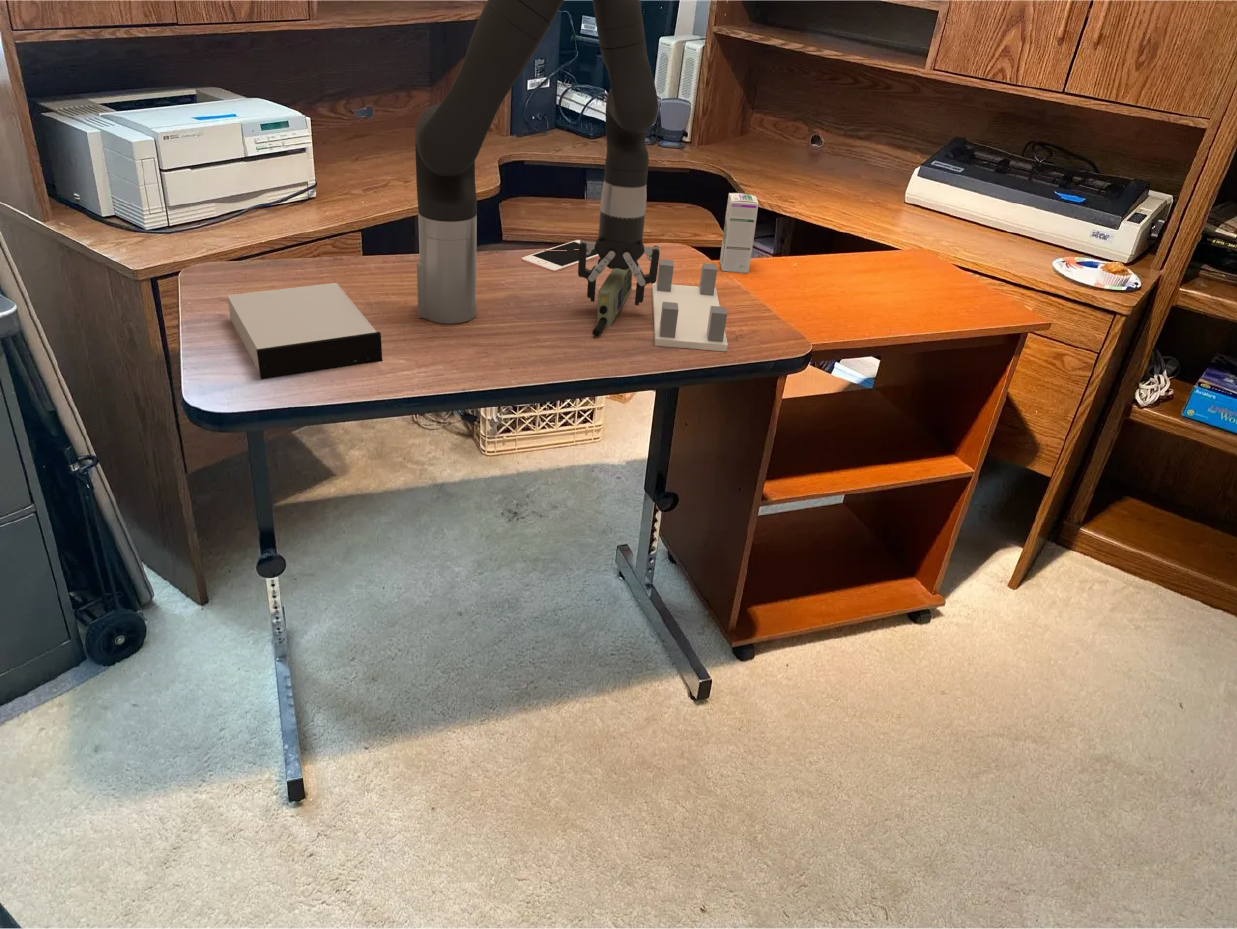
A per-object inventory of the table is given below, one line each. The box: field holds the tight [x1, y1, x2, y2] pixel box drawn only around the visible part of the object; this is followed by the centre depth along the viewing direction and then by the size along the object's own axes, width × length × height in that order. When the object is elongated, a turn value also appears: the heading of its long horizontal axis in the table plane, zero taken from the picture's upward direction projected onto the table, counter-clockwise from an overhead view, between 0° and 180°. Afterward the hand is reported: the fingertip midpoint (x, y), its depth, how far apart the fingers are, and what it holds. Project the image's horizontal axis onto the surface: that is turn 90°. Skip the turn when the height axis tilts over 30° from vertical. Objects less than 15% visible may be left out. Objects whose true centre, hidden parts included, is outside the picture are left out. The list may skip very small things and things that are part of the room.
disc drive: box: [226, 282, 383, 380], centre depth 142 cm, size 18×22×5 cm
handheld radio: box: [592, 268, 633, 337], centre depth 162 cm, size 7×3×25 cm
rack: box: [651, 258, 729, 352], centre depth 162 cm, size 12×26×6 cm, turn 179°
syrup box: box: [719, 192, 760, 274], centre depth 185 cm, size 6×6×14 cm
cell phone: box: [521, 239, 600, 273], centre depth 186 cm, size 9×18×1 cm, turn 143°
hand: (614, 301), depth 163 cm, fingers open, 7 cm apart
